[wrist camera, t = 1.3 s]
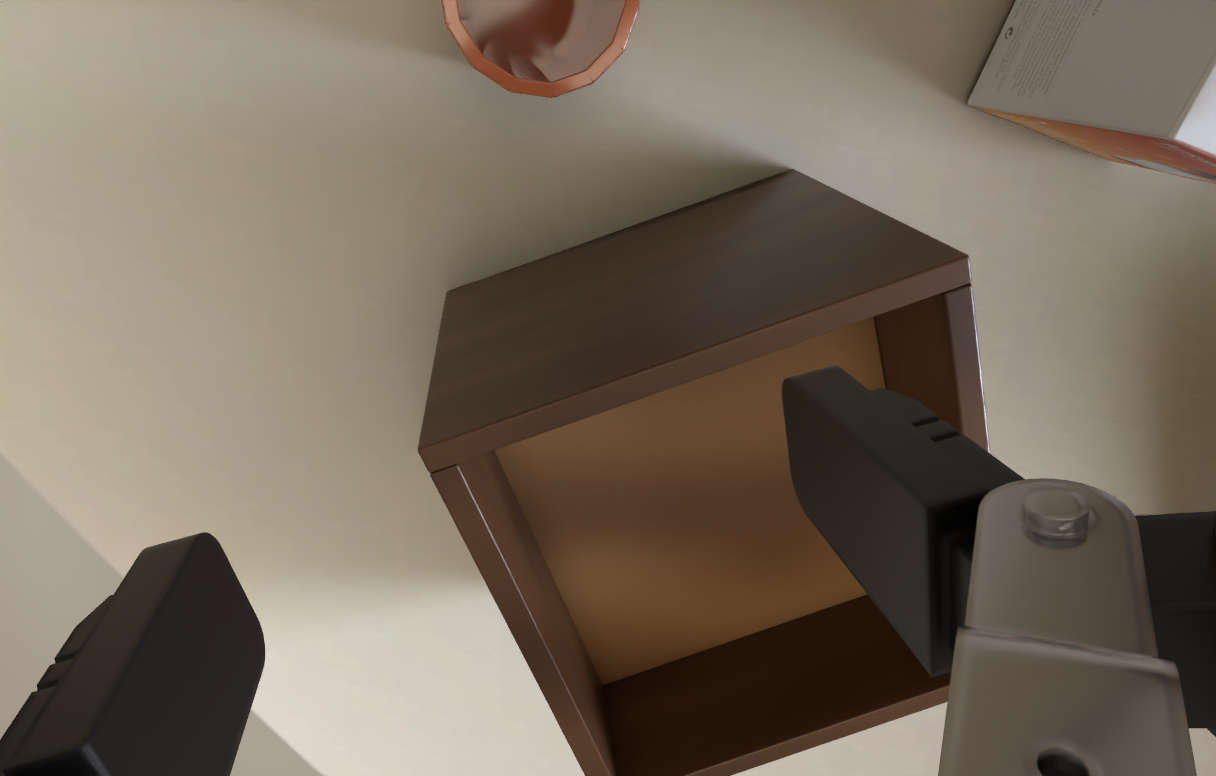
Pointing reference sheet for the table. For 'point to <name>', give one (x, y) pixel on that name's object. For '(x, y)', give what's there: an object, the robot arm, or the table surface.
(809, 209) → the box
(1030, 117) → the small box
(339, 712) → the table surface
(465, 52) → the cup
